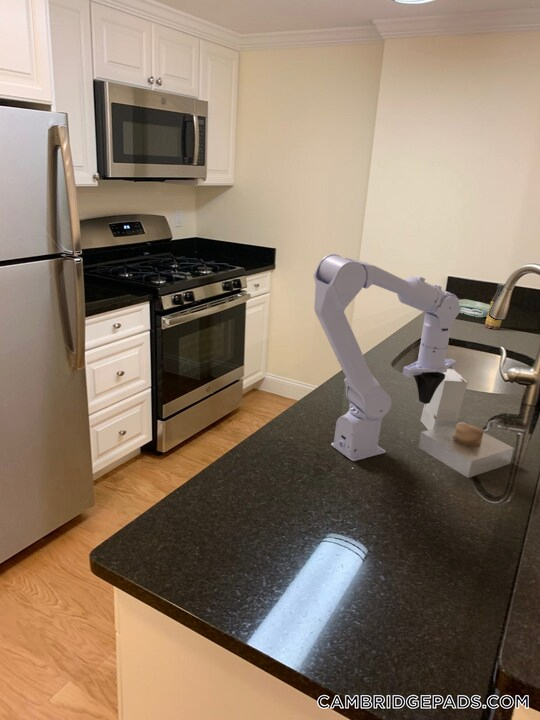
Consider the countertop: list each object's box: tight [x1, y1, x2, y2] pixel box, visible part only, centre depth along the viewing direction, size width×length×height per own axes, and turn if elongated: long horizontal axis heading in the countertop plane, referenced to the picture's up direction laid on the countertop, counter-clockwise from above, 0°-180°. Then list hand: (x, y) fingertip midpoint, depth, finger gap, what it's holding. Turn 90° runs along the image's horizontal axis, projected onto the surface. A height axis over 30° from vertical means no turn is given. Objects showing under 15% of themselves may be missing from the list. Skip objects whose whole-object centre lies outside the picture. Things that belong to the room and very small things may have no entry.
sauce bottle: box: [484, 282, 505, 330], centre depth 232 cm, size 6×6×20 cm
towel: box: [458, 298, 490, 318], centre depth 263 cm, size 18×21×5 cm
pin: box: [454, 423, 484, 446], centre depth 118 cm, size 6×6×6 cm
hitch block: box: [417, 421, 515, 479], centre depth 119 cm, size 14×14×4 cm
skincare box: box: [420, 369, 468, 430], centre depth 129 cm, size 8×6×15 cm
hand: (424, 401), depth 120 cm, fingers closed
